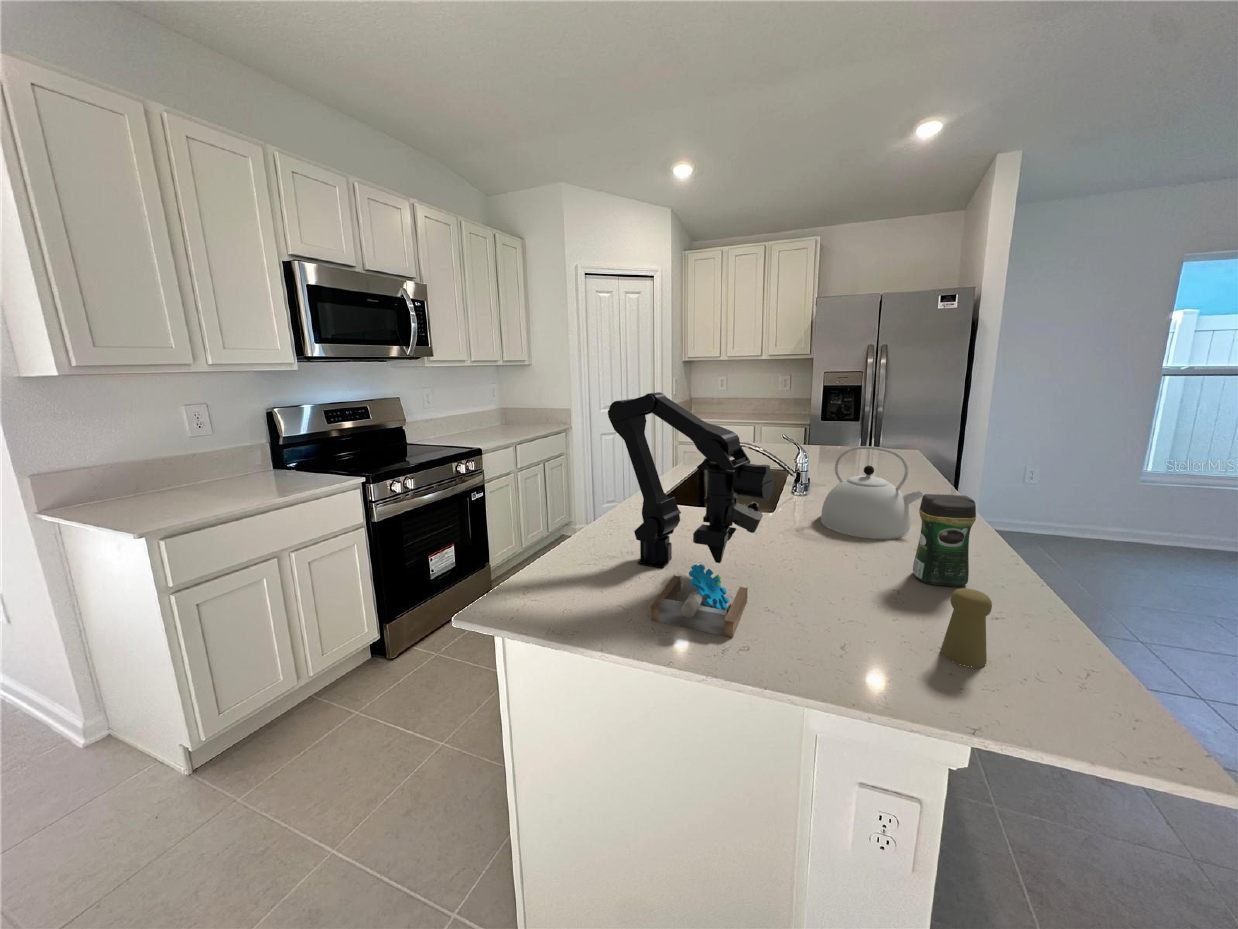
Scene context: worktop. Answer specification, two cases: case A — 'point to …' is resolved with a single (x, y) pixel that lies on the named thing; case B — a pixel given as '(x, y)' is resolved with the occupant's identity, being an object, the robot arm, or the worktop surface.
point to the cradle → (697, 611)
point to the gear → (709, 587)
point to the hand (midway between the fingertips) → (718, 562)
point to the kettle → (869, 504)
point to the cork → (967, 628)
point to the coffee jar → (944, 539)
